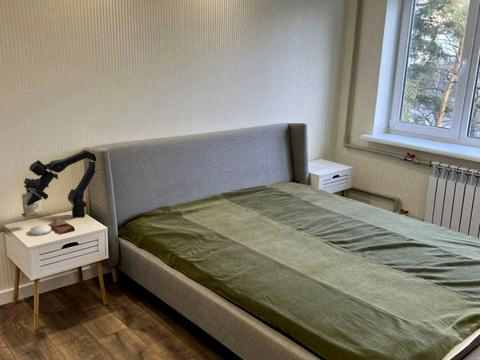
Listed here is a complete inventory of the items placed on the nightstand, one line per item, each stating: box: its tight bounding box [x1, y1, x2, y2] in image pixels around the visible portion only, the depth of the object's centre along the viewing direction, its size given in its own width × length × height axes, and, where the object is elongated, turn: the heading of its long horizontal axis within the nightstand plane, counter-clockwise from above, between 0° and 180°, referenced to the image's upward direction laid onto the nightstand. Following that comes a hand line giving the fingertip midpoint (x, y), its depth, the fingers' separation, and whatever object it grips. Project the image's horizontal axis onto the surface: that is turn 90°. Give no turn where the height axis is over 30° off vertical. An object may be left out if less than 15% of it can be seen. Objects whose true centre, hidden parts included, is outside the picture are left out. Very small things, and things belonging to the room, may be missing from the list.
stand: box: [29, 224, 52, 236], centre depth 244 cm, size 10×10×2 cm
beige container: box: [21, 192, 38, 218], centre depth 247 cm, size 5×6×12 cm
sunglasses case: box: [48, 217, 76, 235], centre depth 250 cm, size 18×7×7 cm, turn 46°
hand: (25, 204), depth 246 cm, fingers closed on beige container, 4 cm apart
